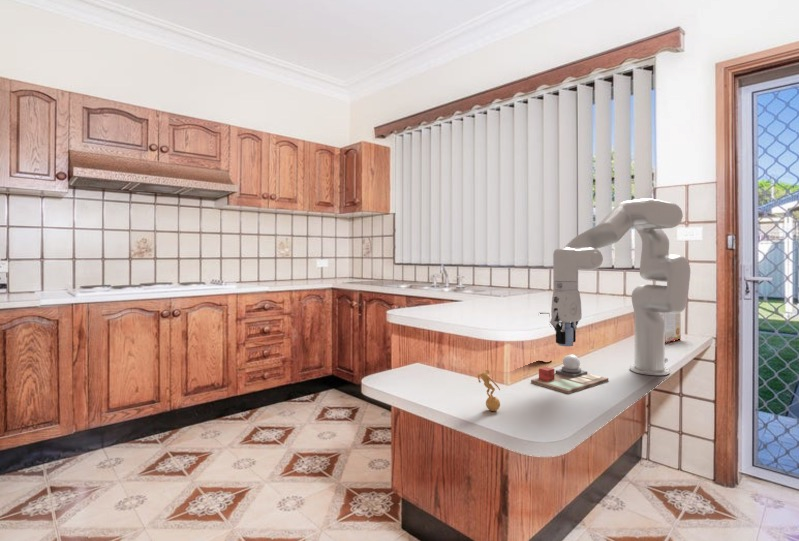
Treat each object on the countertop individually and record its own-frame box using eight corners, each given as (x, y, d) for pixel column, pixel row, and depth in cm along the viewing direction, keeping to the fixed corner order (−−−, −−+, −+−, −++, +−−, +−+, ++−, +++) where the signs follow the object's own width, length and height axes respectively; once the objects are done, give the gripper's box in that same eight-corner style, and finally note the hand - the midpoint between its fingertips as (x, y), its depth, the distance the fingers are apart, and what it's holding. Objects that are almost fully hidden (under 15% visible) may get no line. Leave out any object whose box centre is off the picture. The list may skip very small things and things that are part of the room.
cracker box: (668, 338, 213) (668, 296, 213) (681, 340, 208) (681, 297, 207) (651, 341, 207) (652, 298, 206) (664, 343, 201) (665, 299, 200)
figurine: (508, 413, 119) (508, 370, 118) (492, 418, 116) (492, 374, 115) (488, 404, 126) (487, 364, 125) (472, 409, 123) (471, 367, 122)
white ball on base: (568, 366, 157) (568, 351, 157) (585, 370, 151) (585, 355, 151) (557, 369, 153) (557, 354, 153) (573, 373, 148) (573, 357, 148)
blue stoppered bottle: (576, 345, 139) (576, 319, 139) (567, 347, 137) (567, 321, 136) (563, 342, 143) (563, 318, 143) (555, 344, 141) (555, 319, 140)
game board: (570, 371, 158) (570, 359, 158) (608, 381, 146) (608, 367, 146) (530, 382, 146) (530, 369, 146) (568, 394, 134) (568, 379, 134)
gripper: (559, 288, 131) (559, 348, 132) (591, 285, 141) (591, 341, 141) (539, 287, 138) (539, 344, 138) (571, 284, 147) (571, 337, 148)
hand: (565, 342), depth 140 cm, fingers closed on blue stoppered bottle, 4 cm apart
